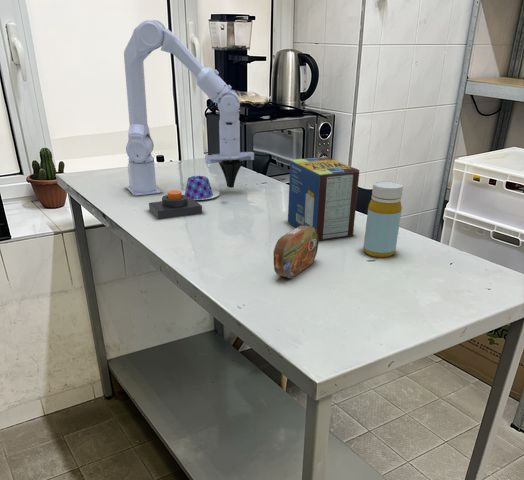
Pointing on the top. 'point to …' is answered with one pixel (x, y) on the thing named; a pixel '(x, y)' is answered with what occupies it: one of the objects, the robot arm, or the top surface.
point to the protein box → (323, 196)
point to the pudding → (199, 188)
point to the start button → (174, 195)
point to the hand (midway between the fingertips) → (230, 186)
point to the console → (175, 207)
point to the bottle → (383, 219)
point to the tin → (295, 251)
